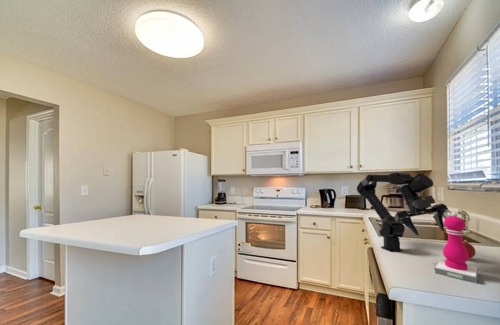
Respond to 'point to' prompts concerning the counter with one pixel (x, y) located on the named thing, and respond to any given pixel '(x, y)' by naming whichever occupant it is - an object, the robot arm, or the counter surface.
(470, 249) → the onion
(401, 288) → the counter surface
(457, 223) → the pepper mill
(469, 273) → the kitchen scale
